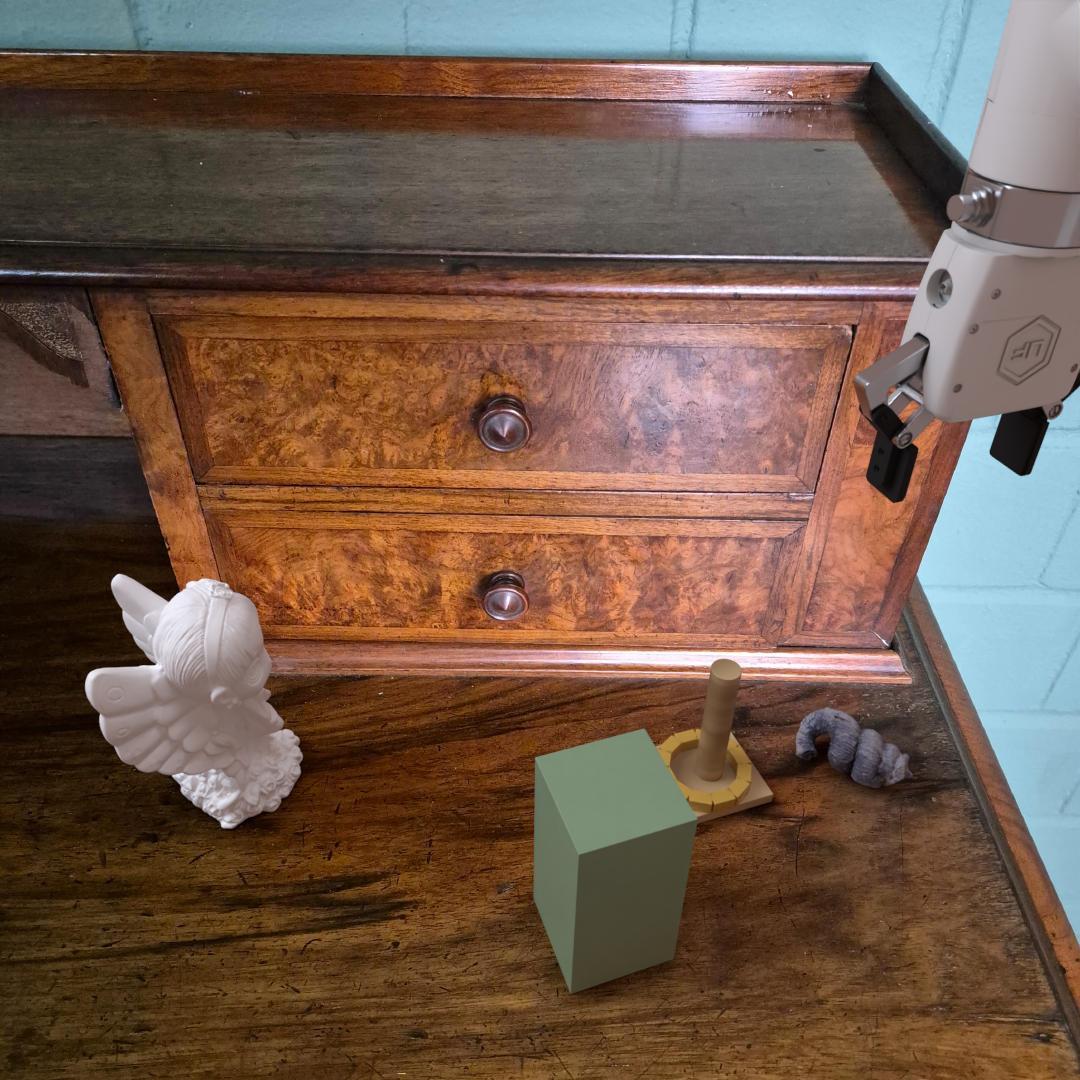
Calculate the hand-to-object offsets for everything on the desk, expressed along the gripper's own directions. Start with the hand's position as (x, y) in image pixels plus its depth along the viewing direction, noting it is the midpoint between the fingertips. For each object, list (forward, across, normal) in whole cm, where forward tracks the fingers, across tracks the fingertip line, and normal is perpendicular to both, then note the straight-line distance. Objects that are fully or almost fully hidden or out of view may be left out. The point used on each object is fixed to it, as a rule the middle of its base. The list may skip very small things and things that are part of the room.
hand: (947, 477), depth 61 cm
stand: (+32, -24, -4) cm, 40 cm away
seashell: (+32, +2, +3) cm, 33 cm away
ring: (+31, -11, +6) cm, 34 cm away
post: (+32, -10, +6) cm, 34 cm away
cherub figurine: (+32, -49, +19) cm, 62 cm away
